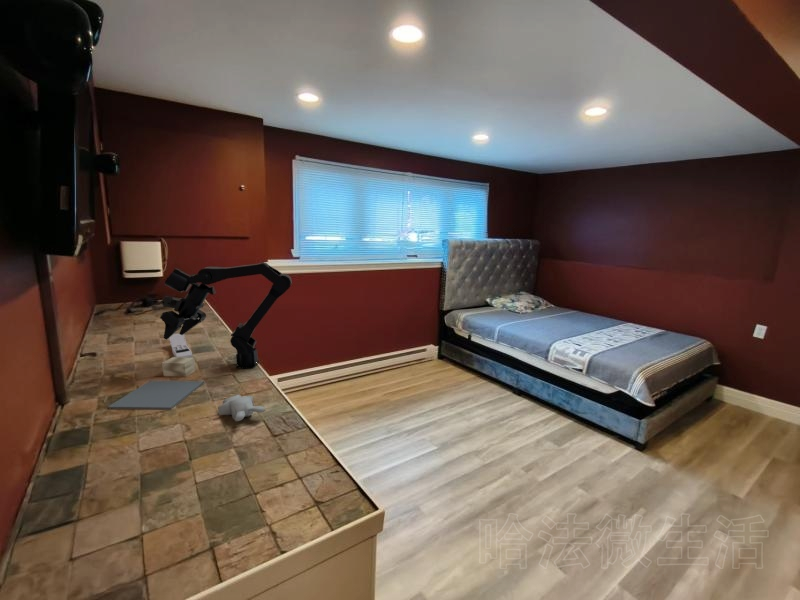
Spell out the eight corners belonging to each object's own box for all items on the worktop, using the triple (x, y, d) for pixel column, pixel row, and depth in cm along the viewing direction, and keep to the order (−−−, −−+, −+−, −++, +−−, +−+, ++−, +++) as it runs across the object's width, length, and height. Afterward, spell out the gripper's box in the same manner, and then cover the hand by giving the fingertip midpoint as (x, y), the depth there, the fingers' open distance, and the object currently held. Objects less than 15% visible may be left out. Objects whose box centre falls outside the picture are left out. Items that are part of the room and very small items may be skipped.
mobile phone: (183, 332, 159) (192, 346, 139) (185, 345, 160) (194, 361, 140) (167, 334, 155) (174, 350, 136) (169, 347, 156) (176, 365, 137)
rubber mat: (204, 382, 121) (204, 381, 121) (171, 409, 103) (170, 407, 103) (150, 382, 121) (150, 380, 121) (107, 408, 103) (107, 406, 103)
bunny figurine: (245, 388, 108) (268, 399, 98) (247, 404, 109) (270, 417, 98) (211, 398, 102) (232, 411, 91) (213, 416, 102) (234, 430, 92)
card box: (195, 370, 131) (194, 357, 130) (185, 377, 126) (184, 363, 125) (174, 370, 132) (172, 357, 131) (163, 376, 126) (162, 362, 125)
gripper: (189, 286, 137) (169, 321, 137) (157, 288, 118) (134, 329, 119) (215, 301, 137) (195, 336, 138) (187, 305, 119) (164, 346, 119)
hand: (173, 336), depth 129 cm, fingers open, 9 cm apart
